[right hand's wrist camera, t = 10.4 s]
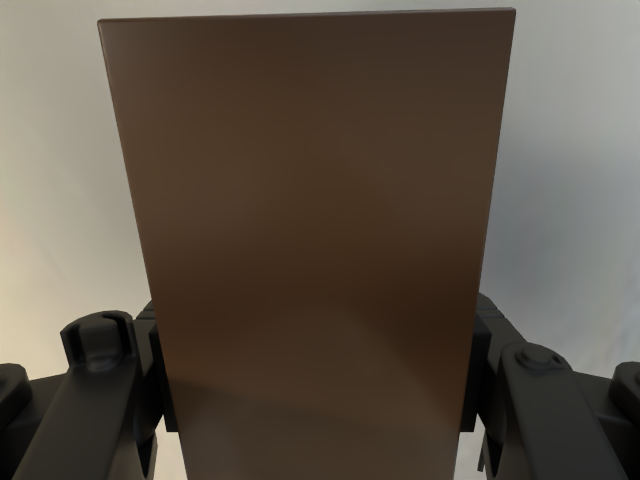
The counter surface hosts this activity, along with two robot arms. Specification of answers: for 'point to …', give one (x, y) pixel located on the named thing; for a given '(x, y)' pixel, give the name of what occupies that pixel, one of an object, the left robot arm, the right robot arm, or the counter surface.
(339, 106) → the bar
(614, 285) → the counter surface
